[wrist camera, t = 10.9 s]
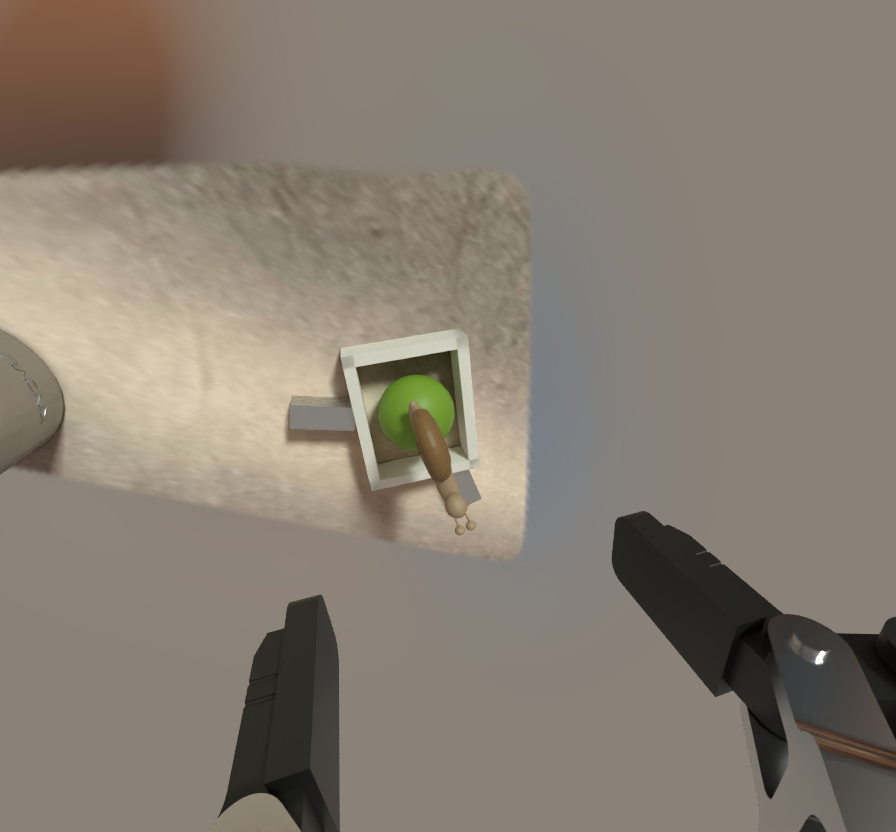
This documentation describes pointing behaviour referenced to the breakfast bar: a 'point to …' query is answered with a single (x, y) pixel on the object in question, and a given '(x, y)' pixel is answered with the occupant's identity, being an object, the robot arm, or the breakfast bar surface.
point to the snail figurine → (424, 433)
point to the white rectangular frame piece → (348, 411)
